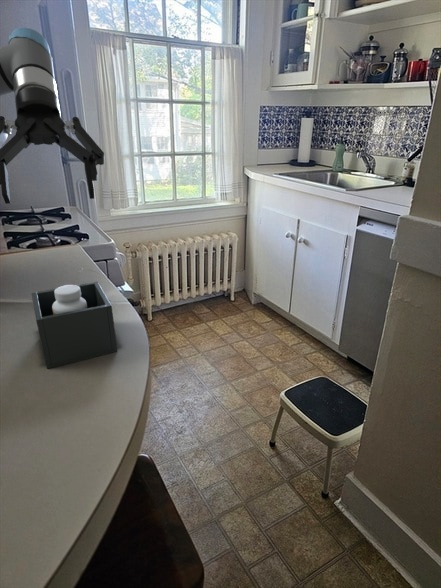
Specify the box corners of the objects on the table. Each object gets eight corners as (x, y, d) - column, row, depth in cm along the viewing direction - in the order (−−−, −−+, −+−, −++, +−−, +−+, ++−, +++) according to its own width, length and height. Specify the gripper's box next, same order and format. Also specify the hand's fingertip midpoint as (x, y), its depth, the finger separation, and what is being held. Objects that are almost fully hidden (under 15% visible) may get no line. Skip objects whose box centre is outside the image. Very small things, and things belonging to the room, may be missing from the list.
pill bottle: (51, 345, 66) (40, 293, 62) (73, 330, 70) (64, 280, 66) (78, 352, 64) (69, 298, 60) (98, 336, 69) (91, 285, 65)
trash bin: (46, 369, 61) (36, 320, 57) (41, 336, 70) (31, 292, 66) (117, 351, 65) (111, 305, 62) (103, 323, 74) (97, 281, 71)
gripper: (105, 117, 81) (123, 204, 75) (-33, 116, 73) (-26, 213, 66) (105, 86, 74) (125, 179, 68) (-47, 81, 66) (-41, 186, 60)
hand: (50, 196), depth 67 cm, fingers open, 13 cm apart
